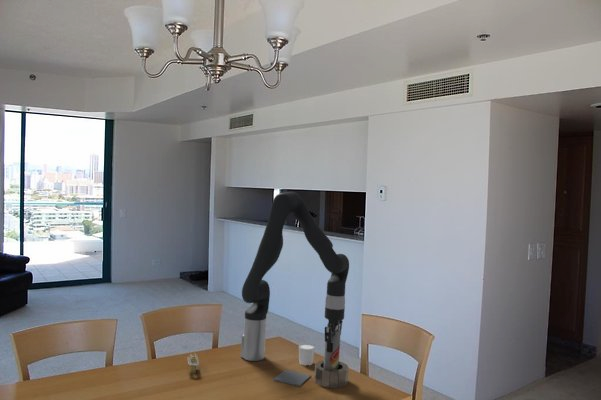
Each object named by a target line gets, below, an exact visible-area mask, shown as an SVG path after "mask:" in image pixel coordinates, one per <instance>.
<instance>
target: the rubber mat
mask: <svg viewBox="0 0 601 400" xmlns="http://www.w3.org/2000/svg"><path fill="white" fill-rule="evenodd" d="M311 377H312V375H311V374H306V373H303V372H297V371H293V370H289V369H285V370H284V371H282V372H281V373H280V374H278V375H277V376H276V377H274V378H273V381H274V382H275V381H276V382H280V383H284V384H287V385H292V386H297V387H301V386H302V385H304V383H305V382H307V380H309V379H310V378H311Z"/></svg>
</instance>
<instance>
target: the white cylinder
mask: <svg viewBox="0 0 601 400" xmlns="http://www.w3.org/2000/svg"><path fill="white" fill-rule="evenodd" d="M315 349H316V346H314V345H312V344H300V345H298V358H299V359H298V361H299V362H298V363H299V364H300V365H301V366H304V367H305V366H306V365H309V366H311V365H312V366H313V364H314V356H315Z"/></svg>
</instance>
